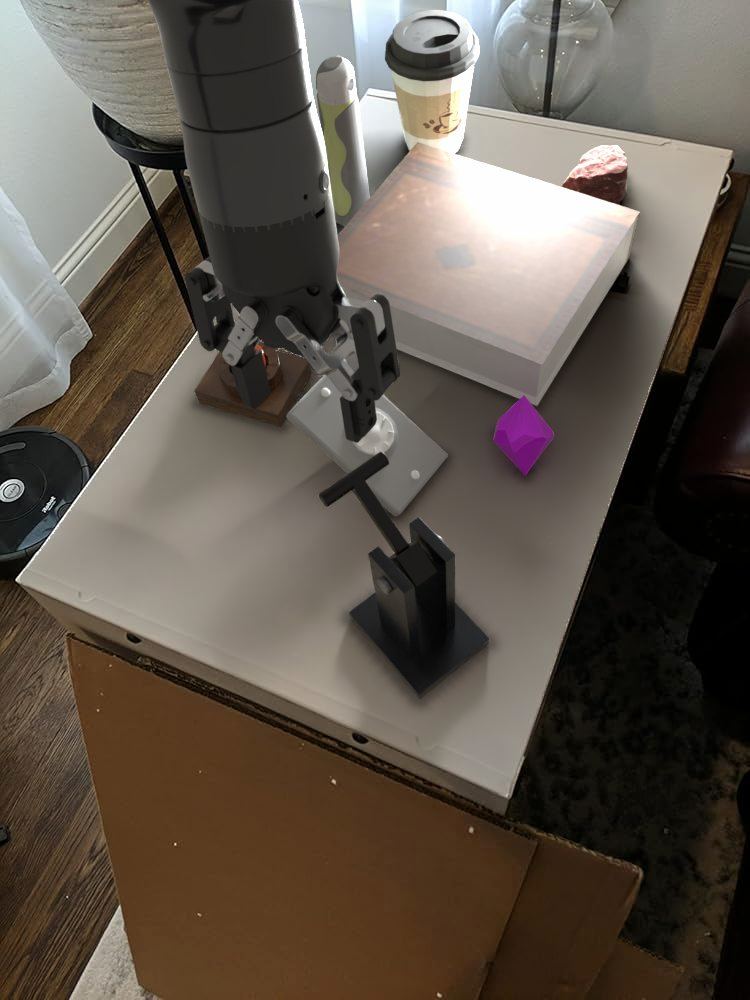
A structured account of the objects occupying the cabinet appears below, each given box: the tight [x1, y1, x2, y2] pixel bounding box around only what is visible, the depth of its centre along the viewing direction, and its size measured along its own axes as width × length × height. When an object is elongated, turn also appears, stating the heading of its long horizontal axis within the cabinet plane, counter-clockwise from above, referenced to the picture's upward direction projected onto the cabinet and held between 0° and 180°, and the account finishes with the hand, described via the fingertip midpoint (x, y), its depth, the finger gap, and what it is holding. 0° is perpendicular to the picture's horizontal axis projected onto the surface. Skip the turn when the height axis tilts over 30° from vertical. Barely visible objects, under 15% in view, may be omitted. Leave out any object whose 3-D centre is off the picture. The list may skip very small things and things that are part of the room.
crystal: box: [493, 395, 555, 477], centre depth 85 cm, size 5×5×5 cm
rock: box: [561, 144, 629, 205], centre depth 103 cm, size 11×6×8 cm
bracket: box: [348, 516, 490, 700], centre depth 71 cm, size 10×8×15 cm
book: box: [337, 142, 641, 407], centre depth 96 cm, size 24×28×6 cm
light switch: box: [286, 359, 449, 517], centre depth 85 cm, size 8×6×14 cm
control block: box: [193, 340, 313, 428], centre depth 92 cm, size 8×10×4 cm
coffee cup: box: [384, 9, 481, 154], centre depth 106 cm, size 11×11×15 cm
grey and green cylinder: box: [315, 55, 371, 227], centre depth 98 cm, size 5×5×20 cm
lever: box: [317, 452, 438, 587], centre depth 66 cm, size 10×6×2 cm
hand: (307, 417), depth 59 cm, fingers open, 8 cm apart
